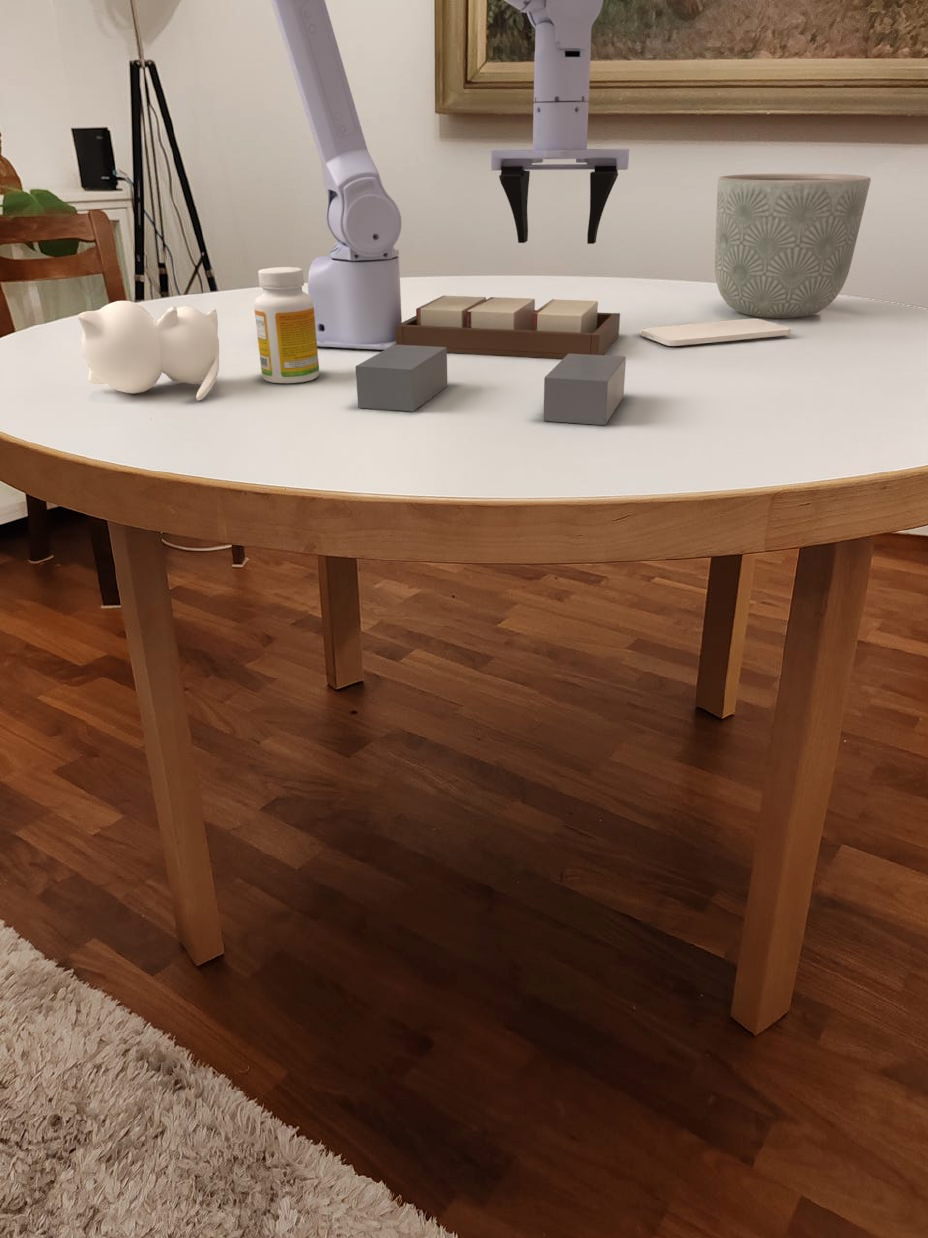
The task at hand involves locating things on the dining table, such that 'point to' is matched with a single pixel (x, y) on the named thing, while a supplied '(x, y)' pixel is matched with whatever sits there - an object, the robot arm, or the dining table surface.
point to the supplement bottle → (286, 327)
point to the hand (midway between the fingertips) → (556, 242)
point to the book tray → (512, 339)
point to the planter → (786, 240)
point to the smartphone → (714, 332)
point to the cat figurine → (150, 347)
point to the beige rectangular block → (566, 316)
